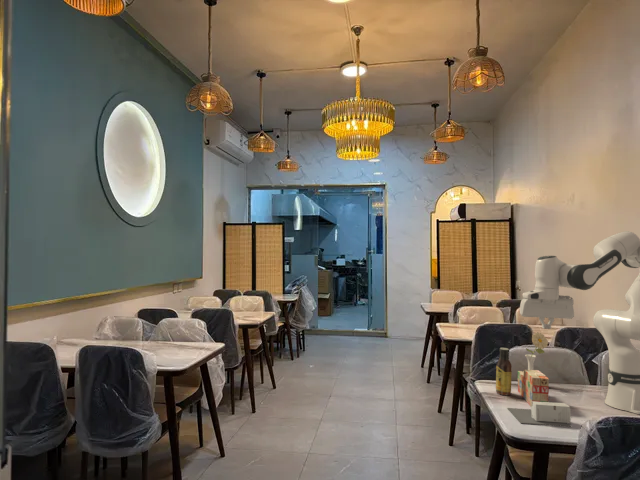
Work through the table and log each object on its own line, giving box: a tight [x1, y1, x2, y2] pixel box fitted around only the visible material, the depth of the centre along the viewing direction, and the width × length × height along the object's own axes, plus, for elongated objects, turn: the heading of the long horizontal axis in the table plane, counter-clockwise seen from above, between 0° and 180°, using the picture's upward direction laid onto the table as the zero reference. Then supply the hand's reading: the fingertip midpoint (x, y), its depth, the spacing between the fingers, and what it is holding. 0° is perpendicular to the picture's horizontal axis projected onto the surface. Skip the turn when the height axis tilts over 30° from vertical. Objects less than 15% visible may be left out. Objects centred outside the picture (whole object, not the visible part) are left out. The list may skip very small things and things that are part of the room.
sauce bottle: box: [495, 347, 513, 396], centre depth 186 cm, size 7×6×20 cm
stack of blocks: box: [517, 369, 550, 408], centre depth 179 cm, size 21×6×12 cm, turn 169°
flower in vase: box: [517, 332, 549, 381], centre depth 200 cm, size 13×11×25 cm
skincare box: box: [530, 401, 572, 424], centre depth 155 cm, size 6×4×12 cm
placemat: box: [506, 407, 572, 428], centre depth 158 cm, size 17×15×1 cm
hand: (546, 328), depth 173 cm, fingers closed
